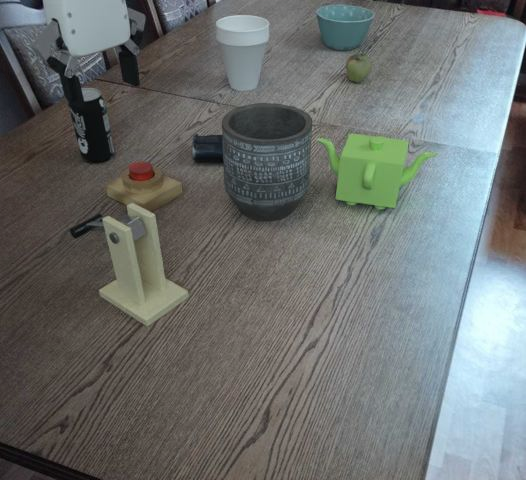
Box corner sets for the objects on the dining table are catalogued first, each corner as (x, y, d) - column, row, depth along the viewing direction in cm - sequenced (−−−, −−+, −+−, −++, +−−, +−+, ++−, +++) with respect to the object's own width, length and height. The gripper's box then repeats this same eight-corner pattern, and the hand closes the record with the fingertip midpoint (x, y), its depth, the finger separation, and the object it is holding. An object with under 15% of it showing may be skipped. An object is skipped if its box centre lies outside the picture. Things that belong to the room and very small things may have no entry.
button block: (107, 195, 98) (102, 175, 95) (145, 176, 103) (141, 156, 100) (145, 215, 94) (141, 194, 91) (182, 194, 98) (180, 173, 96)
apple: (367, 74, 139) (371, 48, 135) (369, 86, 134) (373, 60, 130) (343, 73, 140) (346, 48, 136) (344, 85, 134) (347, 59, 130)
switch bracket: (100, 296, 79) (78, 215, 69) (142, 270, 83) (126, 190, 74) (147, 327, 74) (130, 245, 65) (189, 297, 79) (179, 216, 69)
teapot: (425, 205, 96) (440, 146, 88) (367, 228, 91) (376, 169, 83) (368, 169, 105) (376, 113, 97) (312, 188, 100) (316, 131, 92)
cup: (252, 99, 128) (252, 34, 118) (208, 89, 132) (204, 25, 123) (277, 82, 136) (279, 19, 126) (235, 72, 140) (233, 11, 130)
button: (125, 177, 95) (123, 167, 94) (143, 168, 98) (141, 159, 96) (141, 184, 94) (139, 175, 92) (158, 175, 96) (157, 166, 95)
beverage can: (74, 158, 108) (58, 95, 99) (99, 145, 111) (85, 84, 103) (98, 167, 105) (83, 103, 97) (122, 154, 109) (110, 92, 100)
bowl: (372, 38, 159) (377, 6, 153) (367, 57, 148) (371, 22, 142) (319, 34, 161) (321, 2, 155) (309, 52, 150) (311, 18, 145)
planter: (209, 213, 94) (202, 127, 83) (253, 177, 103) (252, 95, 92) (280, 238, 89) (283, 150, 78) (321, 199, 97) (328, 114, 87)
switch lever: (74, 241, 78) (66, 225, 76) (102, 226, 80) (95, 210, 79) (125, 246, 69) (118, 228, 68) (155, 229, 71) (148, 211, 70)
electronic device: (194, 175, 106) (271, 163, 105) (188, 146, 103) (267, 134, 101) (198, 158, 113) (270, 147, 112) (192, 131, 110) (266, 119, 109)
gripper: (113, -68, 72) (135, 70, 84) (-8, -46, 63) (37, 105, 75) (150, -61, 69) (168, 82, 81) (28, -36, 60) (69, 121, 72)
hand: (105, 93), depth 78 cm, fingers open, 9 cm apart
